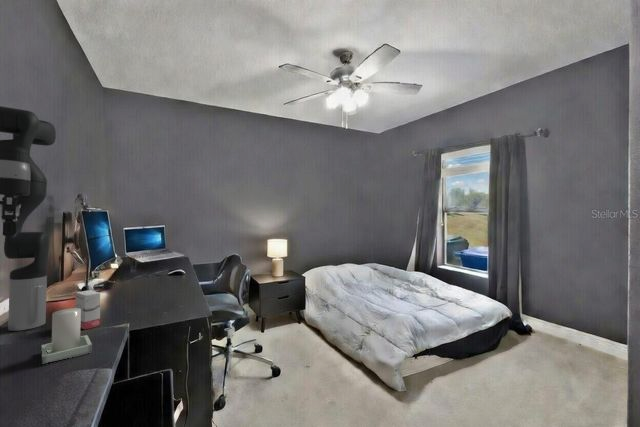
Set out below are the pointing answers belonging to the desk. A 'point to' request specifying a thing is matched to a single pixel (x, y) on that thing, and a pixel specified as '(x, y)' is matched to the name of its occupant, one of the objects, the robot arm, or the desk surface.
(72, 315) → the white pillar candle
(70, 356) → the tray
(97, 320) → the ink box
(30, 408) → the desk surface
